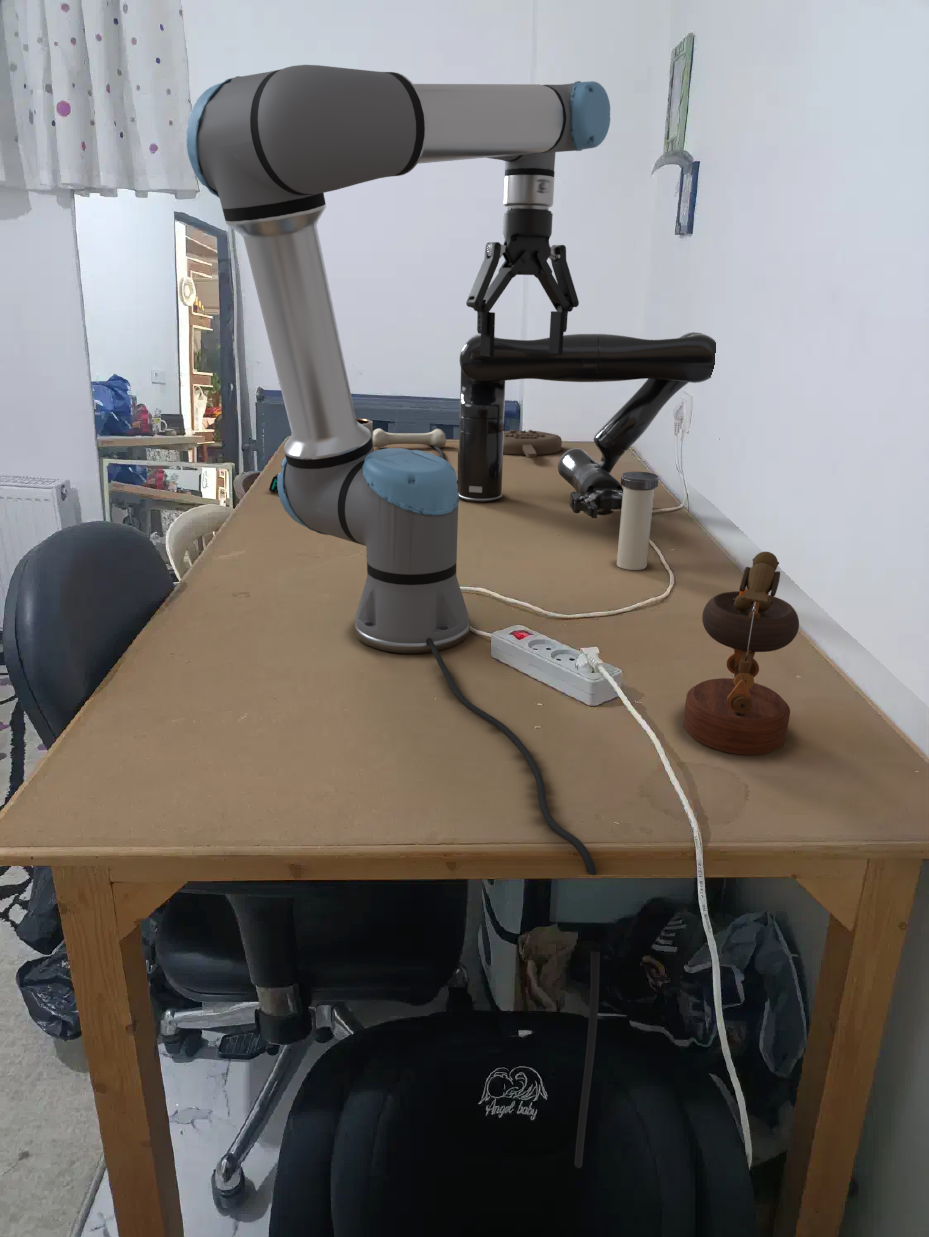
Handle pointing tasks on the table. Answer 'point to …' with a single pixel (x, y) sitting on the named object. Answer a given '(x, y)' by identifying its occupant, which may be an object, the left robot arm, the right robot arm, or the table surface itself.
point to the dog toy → (408, 438)
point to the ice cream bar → (530, 443)
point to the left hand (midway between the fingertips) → (522, 355)
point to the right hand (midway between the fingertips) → (619, 512)
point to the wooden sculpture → (744, 666)
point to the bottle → (635, 528)
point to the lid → (639, 480)
